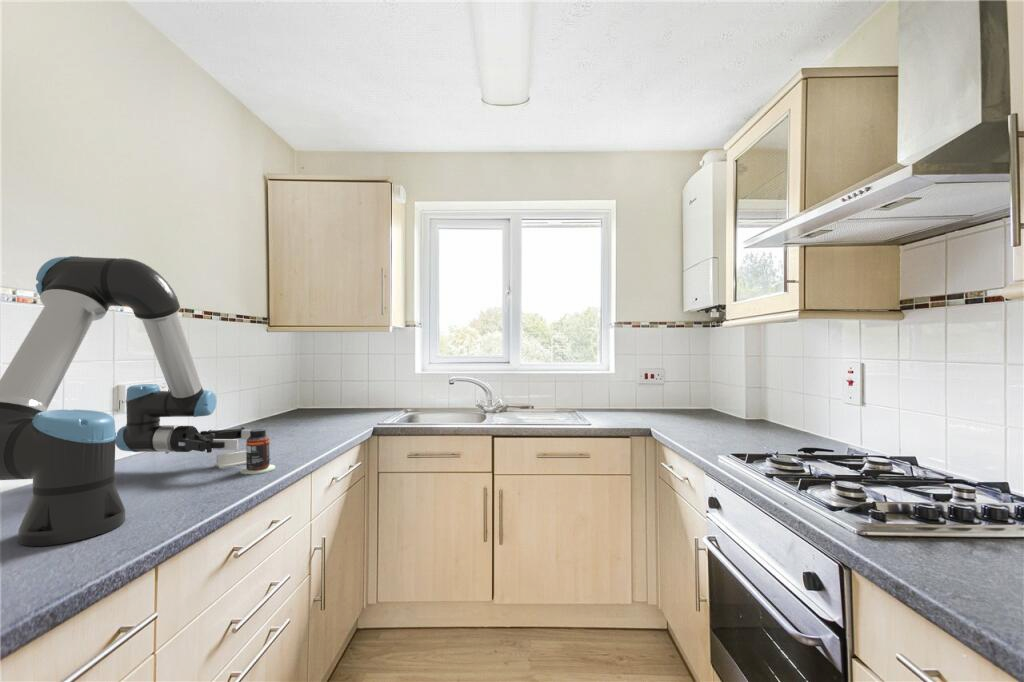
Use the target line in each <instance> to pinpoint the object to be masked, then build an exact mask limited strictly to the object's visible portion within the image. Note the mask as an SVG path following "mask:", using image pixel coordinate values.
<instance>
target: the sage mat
mask: <svg viewBox="0 0 1024 682" xmlns="http://www.w3.org/2000/svg"><path fill="white" fill-rule="evenodd" d="M275 469H276V465H275V464H270V463H269V467H267V468H266V469H262V470H248V469H247V468H246V466H244V467H242V468H241V469H240V470H239V473H240V474H241V475H247V474H248V475H249V474H250V476H251V475H260V474H265V473H269V472H273V471H274V470H275Z"/></svg>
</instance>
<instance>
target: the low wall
mask: <svg viewBox="0 0 1024 682" xmlns="http://www.w3.org/2000/svg"><path fill="white" fill-rule="evenodd" d="M238 465H239V466H243V465H244V466H245V465H246V450H240V451H237V452H236V451H234V452H228V453H221V454H216V463H214V467H216V468H218V469H219V470H221V469H226V467H227V468H232V466H233V467H236V466H237V467H238Z"/></svg>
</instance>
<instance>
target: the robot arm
mask: <svg viewBox="0 0 1024 682" xmlns="http://www.w3.org/2000/svg"><path fill="white" fill-rule="evenodd" d="M35 280H36V281H37V283H35V288H36V291H37V293H38V295H39V299H40V300H39V301H40V302H41V304H43V308H42V310H41V312H40V313H39V315H38V316H37V318H36V320H35V321H34V323H33V325H32V326H31V328H30V330H28V333H27V335H26V336H25V338H24V339H23V341H22V343H21V344H20V346H19V348H18V349H17V351H16V352H15V355H14V356H13V358H12V359H11V361H10V363H9V364H8V366H7V368H6V370H5V371H4V373H3V374H2V375H1V378H0V481H13V480H14V481H15V480H16V481H17V480H32V498H31V501H30V503H29V504H28V507H27V510H26V511H25V514H24V516H23V519H22V521H21V523H20V526H19V528H18V537H17V538H18V544H19V545H22V546H26V547H48V546H57V545H61V544H62V545H63V544H67V543H73V542H78V541H82V540H86V539H90V538H93V537H95V536H96V535H97V536H99V534H100V535H103V534H105V533H107V532H110V531H112V530H114V529H117V528H119V527H120V526H122V525H123V524H124V523H125V521H126V509H125V506H124V504H123V501H122V498H121V497H120V496H121V495H120V493H119V491H118V490H117V487H116V484H115V479H116V478H115V475H116V473H115V470H116V448H117V449H118V450H120V451H124V452H133V453H143V452H144V453H148V452H149V453H152V452H153V453H154V452H155V453H157V452H158V453H160V452H162V453H163V452H164V454H166V455H167V454H169V453H175V452H176V453H189V452H192V451H196V452H201V453H202V452H205V451H206V453H209V454H210V453H212V452H213V450H214V451H215V450H219V451H221V450H223V451H224V450H226V451H227V450H228V451H229V450H230V451H231V450H235V451H237V450H239V439H241V440H247V439H248V438H249V437H250V436H251V435H250V430H251V429H246V428H245V427H243V426H242V427H241V428H231V429H218V430H217V429H216V430H214V429H209V430H201V431H199V430H198V429H197V427H195V426H194V425H178V424H177V425H170V424H169V425H167V424H165V425H160V422H161V418H170V417H171V418H173V417H174V418H177V417H178V418H180V417H182V418H183V417H186V418H189V417H190V418H191V417H193V418H198V417H199V418H200V417H207V416H211V415H212V414H213V413H214V412H215V410H216V407H217V395H216V393H215V392H213V390H206V389H205V390H204V389H203V386H202V384H201V381H200V380H201V379H200V377H199V375H198V371H197V369H196V366H195V362H194V360H193V357H192V354H191V351H190V347H189V344H188V341H187V339H186V338H187V337H186V335H185V333H184V329H183V326H182V323H181V320H180V317H179V314H178V313H179V311H180V310H181V305H180V302H179V299H178V296H177V295H176V293H175V291H174V290H173V288H172V287H171V285H170V284H169V283H168V281H167V280H166V279H165V278H164V277H163V276H162V275H161V274H160V273H159V271H156V270H155V269H153V268H152V266H151V267H150V265H148V264H146V263H144V262H141V261H138V260H137V259H132V258H126V257H125V258H121V257H120V258H116V257H115V258H112V257H88V256H87V257H86V256H85V257H84V256H79V255H77V256H76V255H73V256H61V257H60V256H59V257H54V258H51V259H49V260H48V261H46V262H44V263H43V264H42V265H41V267H40V268H39V269H38V271H37V273H36V276H35ZM113 306H115V307H119V306H120V307H128V308H130V309H131V310H132V311H133V314H134V317H135V318H136V319H139V320H141V321H142V323H143V326H144V328H145V331H146V333H147V337H148V339H149V342H150V344H151V346H152V349H153V352H154V355H155V357H156V360H157V361H158V365H159V367H160V370H161V372H162V374H163V378H164V380H165V383H166V385H167V388H168V390H167V391H166V390H161V389H160V388H161V387H160V385H159V384H156V383H155V384H153V383H144V384H142V383H141V384H134V385H133V384H132V385H130V386H128V387H127V389H126V398H125V404H126V410H125V411H126V424H125V425H123V426H122V427H120V428H119V429H118V431H117V432H116V424H115V423H116V422H115V419H114V418H113V416H112V415H111V414H109V413H107V412H104V411H97V410H93V409H92V410H89V409H53V410H48V408H49V406H50V404H51V402H52V401H53V399H54V396H55V395H56V393H57V391H58V389H59V387H60V386H61V383H62V381H63V379H64V378H65V375H66V373H67V371H68V370H69V368H70V366H71V364H72V362H73V359H74V358H75V356H76V355H77V352H78V350H79V348H80V346H81V344H82V342H83V341H84V339H85V337H86V335H87V333H88V331H89V329H90V327H91V325H92V323H93V322H94V321H98V320H101V319H103V318H105V316H106V314H107V312H108V310H109V308H110V307H113ZM89 537H90V538H89Z"/></svg>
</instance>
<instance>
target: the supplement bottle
mask: <svg viewBox="0 0 1024 682" xmlns="http://www.w3.org/2000/svg"><path fill="white" fill-rule="evenodd" d="M249 430H250V435H251V436H250V437H249V438H248V439H246V444H245V445H246V450H245V451H246V464H245V465H246V466H245V467H246V468H247V469H248V470H262V469H266V468H267V467H269V464H270V461H271V457H270V456H271V455H270V437H269V436H268V435H267V432H266V428H254V429H249Z"/></svg>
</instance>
